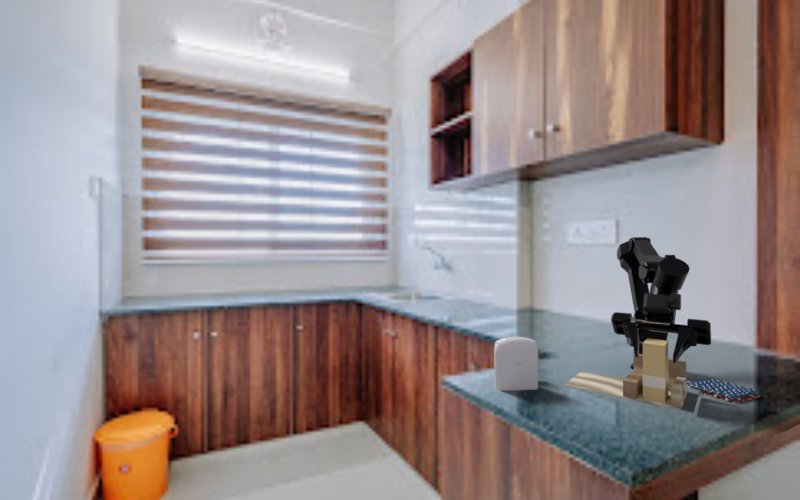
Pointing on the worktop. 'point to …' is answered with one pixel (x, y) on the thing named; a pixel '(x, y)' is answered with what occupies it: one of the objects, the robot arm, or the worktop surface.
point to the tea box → (655, 370)
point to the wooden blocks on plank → (636, 383)
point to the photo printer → (516, 364)
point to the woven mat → (724, 390)
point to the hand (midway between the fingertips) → (654, 359)
